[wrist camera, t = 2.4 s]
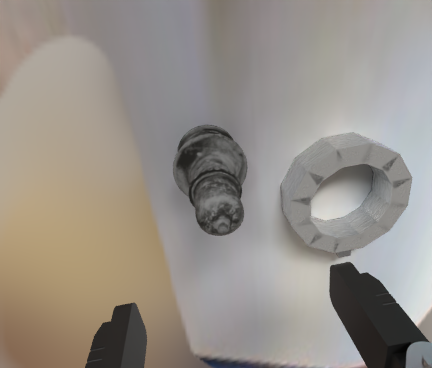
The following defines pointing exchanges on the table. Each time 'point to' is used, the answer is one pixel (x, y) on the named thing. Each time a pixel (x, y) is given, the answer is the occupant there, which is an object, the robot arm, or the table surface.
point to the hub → (361, 217)
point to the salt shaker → (212, 177)
